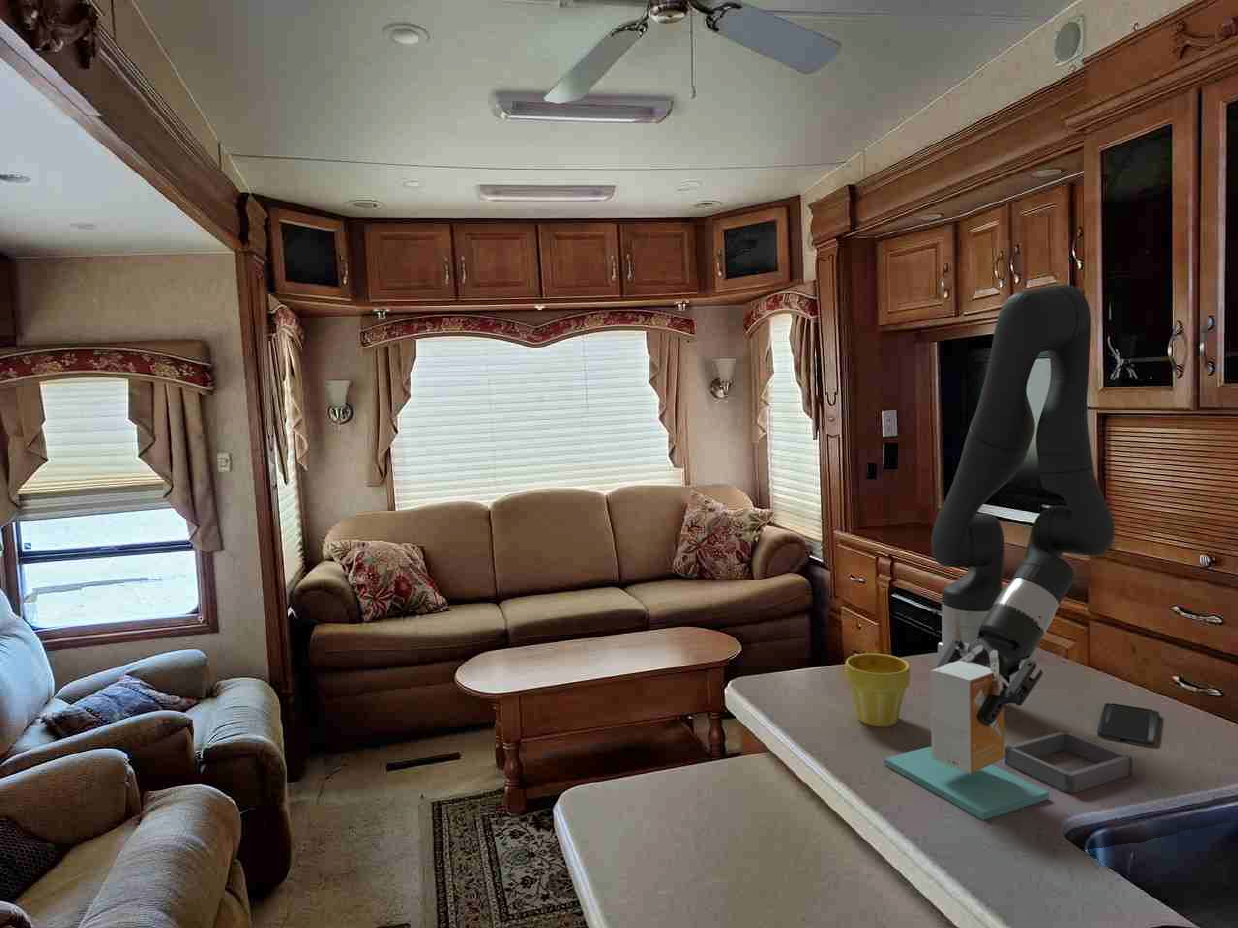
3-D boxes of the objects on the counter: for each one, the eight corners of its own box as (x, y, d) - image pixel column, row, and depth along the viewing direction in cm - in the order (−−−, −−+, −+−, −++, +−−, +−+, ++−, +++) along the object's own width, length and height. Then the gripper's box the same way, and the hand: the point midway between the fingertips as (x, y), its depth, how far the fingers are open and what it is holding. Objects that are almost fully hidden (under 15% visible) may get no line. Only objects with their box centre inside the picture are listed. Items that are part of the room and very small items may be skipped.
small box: (971, 775, 110) (970, 680, 109) (930, 760, 115) (928, 669, 114) (1006, 759, 114) (1004, 667, 113) (964, 745, 119) (963, 657, 118)
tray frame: (1004, 763, 120) (1004, 746, 120) (1064, 746, 125) (1064, 730, 125) (1070, 793, 111) (1070, 775, 110) (1131, 774, 116) (1132, 757, 115)
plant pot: (916, 731, 132) (916, 673, 132) (851, 730, 134) (850, 672, 133) (902, 707, 143) (902, 653, 142) (841, 706, 144) (841, 652, 143)
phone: (1159, 710, 136) (1155, 742, 124) (1159, 717, 136) (1155, 750, 124) (1104, 701, 141) (1095, 731, 128) (1104, 708, 141) (1095, 738, 128)
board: (884, 764, 121) (884, 758, 121) (945, 748, 126) (945, 742, 126) (982, 820, 105) (982, 812, 105) (1048, 799, 109) (1048, 791, 109)
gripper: (965, 593, 123) (906, 683, 119) (1050, 612, 110) (988, 714, 106) (991, 622, 125) (935, 712, 121) (1077, 645, 112) (1017, 746, 108)
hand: (959, 713), depth 113 cm, fingers closed on small box, 7 cm apart
